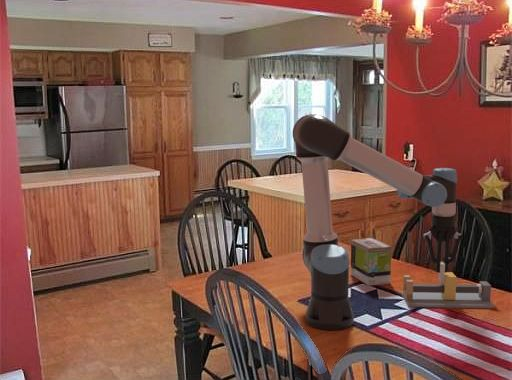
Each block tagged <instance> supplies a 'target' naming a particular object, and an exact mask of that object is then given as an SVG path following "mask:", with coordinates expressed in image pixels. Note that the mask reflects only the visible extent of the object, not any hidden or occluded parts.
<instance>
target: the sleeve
mask: <svg viewBox="0 0 512 380" xmlns="http://www.w3.org/2000/svg"><path fill="white" fill-rule="evenodd" d="M440 284H443V285H444V293H441V295H442V297H443V298H444V299H445V300H455V299H456V285H457V276H456V275H455V274H454V272H450V271H449V272H447V273H445V277H444V283H440Z"/></svg>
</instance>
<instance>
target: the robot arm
mask: <svg viewBox="0 0 512 380" xmlns="http://www.w3.org/2000/svg"><path fill="white" fill-rule="evenodd" d="M292 139H293V141H294V145H295V156H296V159H297V160H298V161H300V164H301V175H302V187H303V198H304V199H303V201H304V209H305V210H304V212H305V213H304V214H305V225H306V233H305V234H304V236H302V243H303V248H302V249H303V250H302V254H301V255H302V261H303V264H304V265H305V268H307V270H308V272H309V274H310V300H309V302H308V305H307V308H306V310H305V311H306V312H305V322H306V324H307V325H309V326H310V327H312V328H315V329H319V330H326V331H339V330H344V329H348V328H350V327H352V325H354V322H355V320H354V319H355V317H354V315H355V314H354V311H353V309H352V305H351V302H350V300H349V278H350V276H349V274H350V273H349V272H350V271H349V270H350V267H349V266H350V258H349V252H348V250H347V249H346V248H344V247H342V246H339V237H338V234H337V233H336V232H335V231H334V230H333V217H332V204H331V203H332V201H331V190H330V189H331V188H330V177H329V175H330V174H329V161H328V160H329V159H330V160H332V161H334V162H337V161H341V162H343V163H345V164H347V165H349V166H351V167H352V168H354V169H357V170H359V171H361V172H363V173H365V174H366V175H368V176H370V177H372V178H374V179H376V180H378V181H380V182H382V183H384V184H386V185H388V186H390V187H392V188H393V189H396V194H397V196H398V197H399V198H400V199H407V200H408V199H414V200H416V201H418V202H421V203H422V204H424V205H426V207H427V206H428V207H431V213H432V215H431V226H430V229H429V231H428V232H426V233H423V234H422V236H423V238H424V239H425V242H426V247H427V250H428V255H429V259H430V261H431V262H432V263H434V264H435V268H434V269H435V272H436V273H437V281H438V282H439V283H440V284H441V283H444V277H445V273H447V272H448V270H449V269H448V267H449V265H450V263H454V262H455V258H456V255H457V252H458V248H459V245H460V242H461V241H462V239H463V238H464V236H463V235H462V234H461V233H460V232H457V229H456V216H455V215H456V209H457V208H456V207H457V206H456V205H457V200H456V199H457V184H458V174H457V173H458V172H457V171H456V169H455V168H450V167H439V168H438V167H437V168H434V169H433V171H432V174H427V175H425V174H424V175H423V174H421V173H419V172H417V171H416V170H414V169H412V168H410V167H408V166H407V165H404V164H402V163H401V162H399V161H396V160H395V159H394V158H391V157H389V156H387V155H386V154H383V153H381V152H379V151H378V150H376V149H374V148H372V147H371V146H368V145H367V144H365V143H363V142H361V141H360V140H357V139H355V138H353V137H352V134H351V132H349V131H347V130H345V128H342V127H341V126H339V125H338V124H336V123H335V122H333V121H332V120H331V119H329V118H328V117H326V116H324V115H320V114H319V115H318V114H311V113H310V114H305V115H303V116H300V118H298V119H297V121H296V122H295V123H294V125H293V128H292ZM432 237H433V238H434V240H435V253H434V248H433V243H432V240H431V239H432ZM452 238H454V239H453V241H452V245H451V248H450V244H451V242H450V241H451V239H452ZM442 244H443V245H442ZM442 246H443V249H442ZM441 258H442V259H441Z"/></svg>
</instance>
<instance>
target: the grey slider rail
mask: <svg viewBox="0 0 512 380" xmlns="http://www.w3.org/2000/svg"><path fill="white" fill-rule="evenodd" d="M402 282H403V283H402V285H403V286H402V291H401V296H402V298H403V300H404V302H405V304H406V306H407V307H408V308H453V309H454V308H456V309H458V308H461V309H495V305H494V303H493V302H491V294H492V293H491V292H492V285H491V284H490V283H489V282H488V281H487V280H486V281H483V280H480V281H478V282H479V283H476V284H456V299H455V300H445V299H444V298H443V297H442V295H441V293H444V285H443V284H441V283H440V284H439V283H438V284H436V283H435V284H434V283H433V284H432V283H429V284H428V283H414V280H413V279H411V275H408V274H407V275H403V280H402Z"/></svg>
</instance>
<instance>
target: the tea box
mask: <svg viewBox="0 0 512 380" xmlns="http://www.w3.org/2000/svg"><path fill="white" fill-rule="evenodd" d="M391 265H392V246H391V245H389V244H387V243H385V242H382V241H380V240H378V239H376V238H373V237H368V238H367V237H366V238H356V239H351V241H350V275H351V276H353V277H355V278H356V279H357V280H359V281H361V282H362V283H364V284H365V285H367V286H378V285H387V284H390V283H391V273H392V271H391V270H392V266H391Z"/></svg>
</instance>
